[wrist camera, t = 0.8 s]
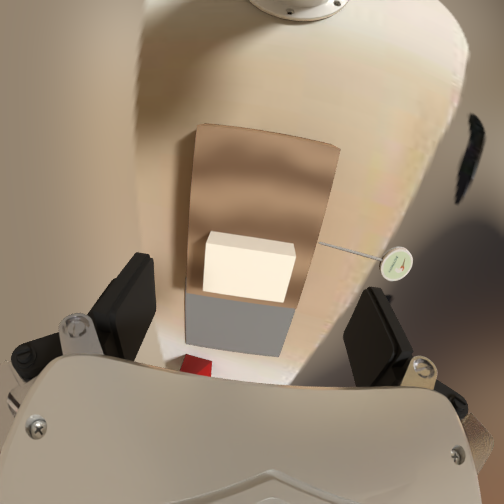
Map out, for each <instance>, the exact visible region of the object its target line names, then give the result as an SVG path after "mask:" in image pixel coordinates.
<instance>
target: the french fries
mask: <svg viewBox="0 0 504 504" xmlns="http://www.w3.org/2000/svg"><path fill="white" fill-rule="evenodd" d="M211 369H212V361H209V360H206V359H202V358H198V357H195V356H191V355H188V354H186V356H185V358H184V361H183V364H182V366H181V369H180V372H186V373H191V374H197V375H202V376H208V377H211Z"/></svg>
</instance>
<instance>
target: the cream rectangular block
mask: <svg viewBox="0 0 504 504" xmlns="http://www.w3.org/2000/svg"><path fill="white" fill-rule="evenodd" d="M295 259H296V253H295V248H294V244H293V243H286V242H280V241H274V240H267V239H261V238H254V237H248V236H241V235H234V234H228V233H221V232H214V231H211V232H210V234H209V237H208V239H207V242H206V250H205V264H204V279H203V291H206V292H212V293H219V294H225V295H232V296H238V297H245V298H252V299H259V300H267V301H274V302H282V303H283V302H284V299H285V295H286V292H287V288H288V285H289V281H290V278H291V274H292V270H293V266H294V263H295Z"/></svg>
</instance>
